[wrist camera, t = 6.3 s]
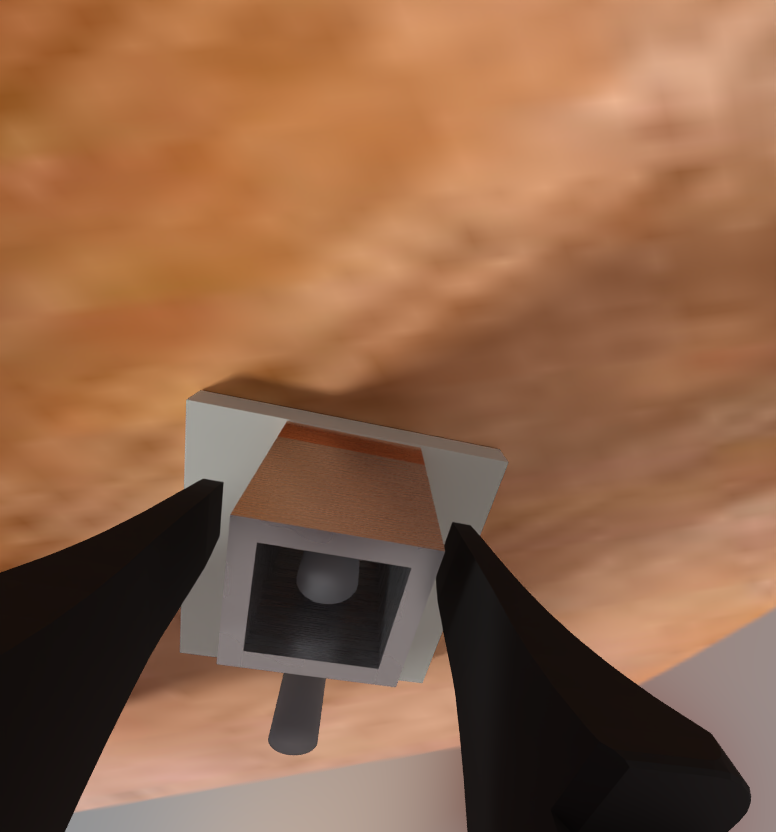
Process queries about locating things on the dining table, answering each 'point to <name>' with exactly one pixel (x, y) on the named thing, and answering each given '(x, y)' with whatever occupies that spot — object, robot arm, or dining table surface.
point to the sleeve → (336, 535)
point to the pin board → (243, 452)
